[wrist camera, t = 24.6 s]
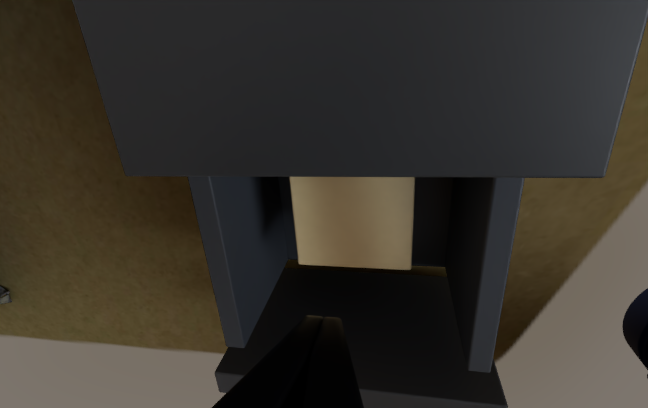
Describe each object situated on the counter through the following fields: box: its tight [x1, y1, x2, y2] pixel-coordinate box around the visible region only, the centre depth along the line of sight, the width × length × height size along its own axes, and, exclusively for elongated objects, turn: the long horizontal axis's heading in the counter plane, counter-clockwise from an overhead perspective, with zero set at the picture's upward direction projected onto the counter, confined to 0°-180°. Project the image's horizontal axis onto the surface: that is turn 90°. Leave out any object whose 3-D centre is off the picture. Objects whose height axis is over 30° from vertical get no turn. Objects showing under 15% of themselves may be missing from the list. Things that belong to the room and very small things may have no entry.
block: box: [289, 177, 415, 270], centre depth 15 cm, size 4×4×4 cm
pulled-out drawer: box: [188, 176, 524, 408], centre depth 16 cm, size 18×11×8 cm, turn 4°
